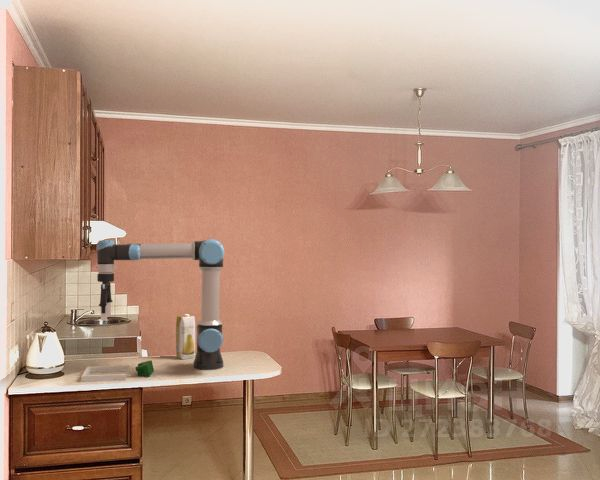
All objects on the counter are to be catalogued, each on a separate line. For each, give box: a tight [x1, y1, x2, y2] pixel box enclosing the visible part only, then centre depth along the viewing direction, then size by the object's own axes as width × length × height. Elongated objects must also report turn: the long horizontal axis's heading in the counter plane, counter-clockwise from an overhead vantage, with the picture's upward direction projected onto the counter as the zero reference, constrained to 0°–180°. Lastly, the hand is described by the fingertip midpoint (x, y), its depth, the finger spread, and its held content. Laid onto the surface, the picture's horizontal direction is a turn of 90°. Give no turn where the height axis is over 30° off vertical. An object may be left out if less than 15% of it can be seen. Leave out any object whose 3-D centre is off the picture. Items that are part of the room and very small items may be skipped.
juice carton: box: [175, 313, 196, 360], centre depth 336 cm, size 9×8×24 cm
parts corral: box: [80, 364, 130, 383], centre depth 294 cm, size 20×21×2 cm
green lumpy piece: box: [134, 360, 155, 378], centre depth 296 cm, size 12×6×9 cm, turn 177°
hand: (105, 318), depth 291 cm, fingers open, 13 cm apart
